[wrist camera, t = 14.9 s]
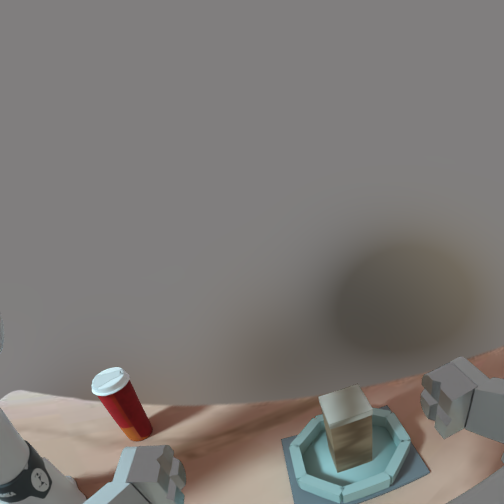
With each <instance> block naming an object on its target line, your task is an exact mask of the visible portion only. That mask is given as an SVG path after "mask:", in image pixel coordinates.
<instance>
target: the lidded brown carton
mask: <svg viewBox="0 0 504 504" xmlns="http://www.w3.org/2000/svg"><path fill="white" fill-rule="evenodd" d="M319 402H320V405H321V409H322V414H323V419H324V425H325V430H326V436H327V442H328V448H329V451H330V454H331V456H332V459H333V462H334V465H335V468H336V470H337V473H339V472H342V471H345V470H348V469H351V468H354V467H357V466H360V465H362V464H365V463H368V462H371V461H372V415H373V408H372V407H371V405H370V403H369V402H368V400H367V398H366V396H365V395H364V393H363V391H362V390H361V388H360V386H359V385H358V384H355V385H353V386H350V387H347V388H344V389H341V390H338V391H335V392H332V393H328V394H325V395H322V396H319Z"/></svg>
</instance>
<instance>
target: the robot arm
mask: <svg viewBox="0 0 504 504" xmlns="http://www.w3.org/2000/svg"><path fill="white" fill-rule="evenodd" d="M3 343H4V325H3V320H2V316H1V313H0V353H1V351H2V348H3ZM422 386H423V387H424V390H423V392H422V393H421V400H420V402H421V406H422V410H423V412H424V414H425V415H426V417H427V418H428V419H430V420H434V421H435V429H436V430H437V431H438V432H439V434H440V435H441V436H442V438H443V439H446V438H448V437H449V436H451V435H453V434H455V433H457V432H459V431H460V430H462V429H464V428H465V429H466V430H468V431H471V432H473V433H476V434H479V435H481V436H484V437H487V438H489V439H492V440H495V441H498V442H500V443H503V444H504V379H501V378H495V377H493V378H491V379H489V378H488V377H487V376H486V375H485V374H483V373H482V372H481V371H480V370H479V369H478V368H476V367H475V366H474V365H473V364H472V363H471V362H469V361H468V360H467V359H466V358H465V357H462V356H459V357H458V358H456V359H454V360H452V361H450V362H449V363H446V364H444V365H443V366H441V367H439V368H437V369H435V370H433V371H431V372H429V373H427V374H424V375H423V378H422ZM173 455H174V451H173V450H172V448H171V447H170V446H169V445H159V446H139V447H125V448H124V449H123V451H122V454H121V457H120V460H119V463H118V466H117V469H116V472H115V475H114V478H113V481H112V482H108V483H107V484H106V485H105V486H103V487H102V488H101V489H100V490H99V491H97V492H96V493H95V494H94V495H93V496H91V497H90V498H89V499H88V500H87V499H86V497H85V496H84V494H83V493H82V492H81V491H80V490H79V489H78V488H77V484H76V481H75V480H74V479H73V478H72V477H71V476H64V475H63V474H62V473H61V472H60V471H59V470H58V469H57V468H56V467H55V466H54V465H53V464H52V463H51V462H50V461H49V460H48V459H46V458H45V457H43V458H42V457H40V455H39V454H38V453H37V451H36V450H35V449H34V448H33V447H32V446H31V445H30V444H29V443H28V442H27V441H25V440H23V438H22V437H21V436H20V434H19V433H18V432H17V430H16V429H15V428H14V426H13V425H12V423H11V422H10V421H9V419H8V418H7V416H6V415H5V413H4V412H3V410H2V409H1V408H0V504H184V496H185V495H184V494H183V493H182V492H181V490H182V488H183V487H184V486H185V485H186V474H185V469H184V467H183V464H182V463H181V461H180V460H178V459H176V458H175V457H173ZM501 461H502V462H503V463H504V453H503V455H502V458H501ZM446 504H504V466H503V467H501V468H500V469H499V470H497V471H496V472H495V473H493V474H492V475H490V476H489V477H487V478H486V479H485V480H483V481H482V482H480V483H479V484H477V485H476V486H474V487H472V488H471V489H469V490H468V491H466V492H465V493H463V494H461V495H460V496H458V497H456V498H455V499H453V500H451V501H449V502H448V503H446Z"/></svg>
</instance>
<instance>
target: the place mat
mask: <svg viewBox="0 0 504 504" xmlns="http://www.w3.org/2000/svg"><path fill="white" fill-rule="evenodd" d="M379 409H383V410H389V411H391V410H390V409H389V407H388V406H387V405H386V406H384V407H381V408H379ZM391 413H392V412H391ZM297 436H298V435H296V436H292V437H288V438H284V439H281V440H282V445H283V450H284V455H285V460H286V465H287V470H288V475H289V480H290V485H291V490H292V494H293V499H294V504H359V503H361V502H364V501H367V500H370V499H372V498H375V497H378V496H380V495H383V494H385V493H388V492H390V491H393V490H395V489H397V488H399V487H402V486H404V485H406V484H408V483H411V482H413V481H415V480H417V479H419V478H421V477H423V476H425V475H427V474H429V473H430V471H429V470H428V468H427V467H426V465H425V463H424V462H423V460H422V459H421V457H420V455H419V454H418V452H417V451H416V449H415V447H414V446H413V444H412V443H411V442H410V449H409V452H408V455H407V457H406V459H405V461H404V463H403V465H402V467H401V469H400V471H399V473H398V475H397V476H396V478H395V480H394V482H393V484H390V486H389V487H388V488H385V489H383V490H380V491H378V492H376V493H374V494H372V495H370V496H368V497H365V498H362V499H358V500H353V501H350V502H347V503H344V502H343V501H341V503H337V502H334V501H331V500H328V499H324V498H321V497H319V496H317V495H315V494H313V493H310V492H308V491H305V490H303V489H301V488H300V486H298V483H297V480H296V476H295V472H294V467H293V463H292V458H291V454H290V449H289V447H290V444H291V443H292V442H293V440H294V439H295V438H296V437H297Z"/></svg>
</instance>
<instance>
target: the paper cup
mask: <svg viewBox="0 0 504 504" xmlns="http://www.w3.org/2000/svg"><path fill="white" fill-rule="evenodd" d="M129 378H130V377H129V375H128V373H127V372H125V371H124V370H123V369H122V368H119V367H114V368H109V369H106V370H104V371H102V372H100V373H99V374H97V376H96V377H95V378H94V379H93V381H92V392H93V393H94V394H96V395H97V396H98V397H99V399H100V400H101V402H102V403H103V405H104V406H105V408H106V409H107V410H108V412H109V413H110V415H111V416H112V417H113V419H114V420H115V421H116V423H117V424H118V425H119V427H120V428H121V429H122V430H123V432H124V433H125V434H126V435H127V437H128V438H129V439H130V440H132V441H141V440H144V439H146V438H147V437H149V436H150V434H151V433H152V426H151V423H150V421H149V419H148V417H147V415H146V413H145V411H144V409H143V407H142V405H141V403H140V401H139V399H138V397H137V395H136V393H135V390H134V388H133V386H132V384H131V382H130V380H129Z"/></svg>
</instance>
